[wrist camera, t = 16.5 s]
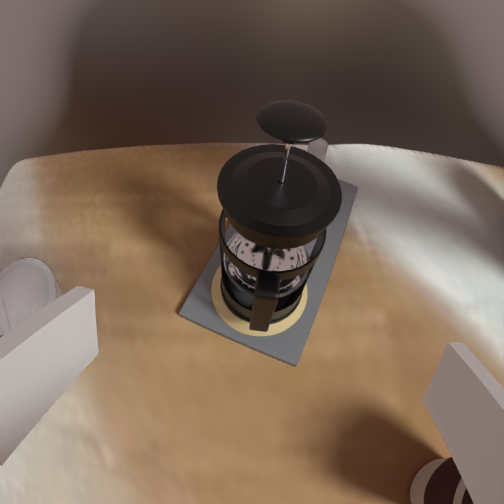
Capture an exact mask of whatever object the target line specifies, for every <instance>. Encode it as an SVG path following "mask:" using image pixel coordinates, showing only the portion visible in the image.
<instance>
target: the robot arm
mask: <svg viewBox="0 0 504 504" xmlns="http://www.w3.org/2000/svg"><path fill="white" fill-rule="evenodd" d="M98 354H99V351H98V340H97V329H96V314H95V295H94V290H93V289H89V288H85V287H81V286H76V287H75V288H73V289H72V290H70V291H69V292H67V293H65V294H64V295H62V296H61V297H59V298H58V299H56V300H55V301H53V302H52V303H50V304H48V305H47V306H45V307H44V308H42V309H41V310H39V311H38V312H36V313H35V314H33V315H32V316H30V317H29V318H28V319H26V320H25V321H23V322H22V323H20V324H19V325H17V326H16V327H14V328H13V329H11V330H10V331H9V332H7V333H6V334H4V335H1V336H0V465H3V464H4V462H5V461H6V460H7V459H8V457H9V456H10V455H11V454H12V452H13V451H14V450H15V449H16V448H17V446H18V445H19V444H20V443H21V442H22V440H23V439H24V438H25V437H26V436H27V434H28V433H29V432H30V431H31V430H32V429H33V427H34V426H35V425H36V424H37V423H38V421H39V420H40V419H41V418H42V417H43V416H44V414H45V413H46V412H47V411H48V410H49V409H50V408H51V406H52V405H53V404H54V403H55V402H56V401H57V399H58V398H59V397H60V396H61V395H62V394H63V393H64V392H65V390H66V389H67V388H68V387H69V386H70V385H71V384H72V383H73V381H74V380H75V379H76V378H77V377H78V376H79V375H80V374H81V372H82V371H83V370H84V369H85V368H86V367H87V366H88V365H89V364H90V363H91V361H92V360H93V359H94V358H95V357H96V356H97V355H98ZM422 400H423V402H424V404H425V405H426V407H427V409H428V411H429V413H430V415H431V417H432V419H433V420H434V422H435V424H436V426H437V428H438V430H439V432H440V434H441V436H442V438H443V440H444V442H445V444H446V446H447V448H448V450H449V452H450V454H451V456H452V458H453V460H454V462H455V464H456V466H457V468H458V470H459V473H460V475H461V477H462V479H463V481H464V483H465V485H466V488H467V490H468V492H469V494H470V496H471V499H472V501H473V503H474V504H504V389H503V387H502V386H501V385H500V384H499V383H498V382H497V380H496V379H495V378H494V377H493V376H492V375H491V373H490V372H489V371H488V370H487V369H486V368H485V367H484V366H483V364H482V363H481V362H480V361H479V360H478V359H477V358H476V357H475V356H474V355H473V353H472V352H471V351H470V350H469V349H468V348H467V347H466V346H465V345H464V344H463V343H458V342H448V343H447V345H446V348H445V350H444V353H443V355H442V358H441V360H440V362H439V365H438V367H437V369H436V372H435V374H434V376H433V378H432V380H431V383H430V385H429V387H428V389H427V391H426V393H425V395H424V397H423V399H422Z"/></svg>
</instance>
